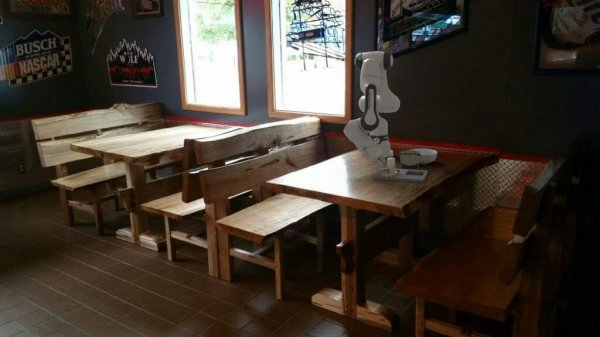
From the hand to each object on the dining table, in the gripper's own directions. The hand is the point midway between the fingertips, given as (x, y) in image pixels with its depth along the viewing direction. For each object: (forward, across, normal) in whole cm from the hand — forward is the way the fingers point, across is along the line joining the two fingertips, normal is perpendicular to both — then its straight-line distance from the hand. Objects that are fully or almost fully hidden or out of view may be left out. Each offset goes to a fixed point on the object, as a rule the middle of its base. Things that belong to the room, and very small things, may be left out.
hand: (383, 163), depth 271 cm
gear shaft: (+7, 0, +1) cm, 7 cm away
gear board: (+11, -3, -3) cm, 12 cm away
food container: (+13, +16, -4) cm, 21 cm away
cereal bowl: (+17, +31, -8) cm, 36 cm away
